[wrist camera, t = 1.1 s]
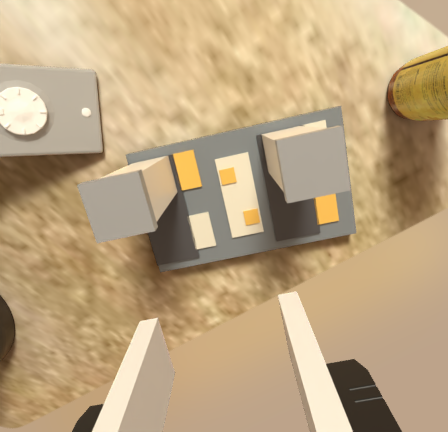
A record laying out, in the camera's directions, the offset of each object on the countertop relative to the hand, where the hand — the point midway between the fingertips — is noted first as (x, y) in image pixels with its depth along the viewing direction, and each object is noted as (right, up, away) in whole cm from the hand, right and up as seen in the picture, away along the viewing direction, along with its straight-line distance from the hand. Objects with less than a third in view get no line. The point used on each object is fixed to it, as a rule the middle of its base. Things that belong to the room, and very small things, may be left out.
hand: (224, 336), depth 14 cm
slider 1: (-7, +9, +23) cm, 26 cm away
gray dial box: (-20, +16, +24) cm, 35 cm away
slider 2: (+6, +12, +22) cm, 26 cm away
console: (+2, +8, +26) cm, 27 cm away
